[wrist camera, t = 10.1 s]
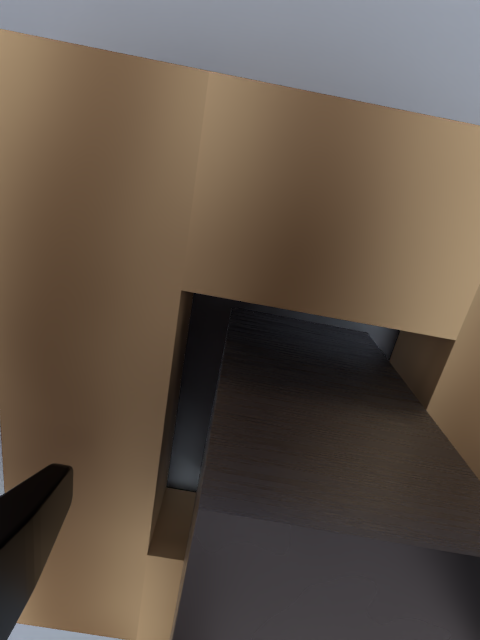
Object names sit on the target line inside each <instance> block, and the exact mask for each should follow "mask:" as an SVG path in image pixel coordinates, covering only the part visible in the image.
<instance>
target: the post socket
mask: <svg viewBox="0 0 480 640" xmlns="http://www.w3.org/2000/svg"><path fill="white" fill-rule="evenodd" d="M194 293H199V294H204V295H210V296H215V297H221V298H226V299H232V300H237V301H243V302H248V303H254V304H259V305H265V306H270V307H276V308H281V309H287V310H292V311H298V312H303V313H309V314H314V315H320V316H325V317H331V318H336V319H342V320H347V321H353V322H358V323H364V324H369V325H375V326H380V327H386V328H391V329H397V330H400V333H399V336H398V338H397V341H396V344H395V347H394V350H393V352H392V355H391V358H390V361H389V362H390V363H391V365H392V366H393V367H394V368H395V370H396V371H397V372H398V374H399V375H400V376H401V378H402V379H403V380H404V382H405V383H406V384H407V386H408V387H409V388H410V390H411V391H412V392H413V394H414V395H415V396H416V397H417V399H418V400H419V401H420V403H421V404H422V405H423V407H424V408H425V409H426V411H427V412H428V413H429V415H430V416H431V417H432V419H433V420H434V421H435V422H436V424H437V425H438V426H439V428H440V429H441V430H442V432H443V433H444V434H445V436H446V437H447V438H448V440H449V441H450V442H451V444H452V445H453V446H454V447H455V449H456V450H457V451H458V453H459V454H460V455H461V457H462V458H463V459H464V461H465V462H466V463H467V465H468V466H469V467H470V469H471V470H472V471H473V472H474V474H475V475H476V476H477V478H478V479H479V480H480V126H479V125H474V124H469V123H464V122H459V121H454V120H450V119H445V118H440V117H435V116H430V115H425V114H420V113H415V112H410V111H405V110H400V109H395V108H390V107H385V106H380V105H375V104H370V103H365V102H360V101H355V100H350V99H345V98H340V97H335V96H331V95H326V94H321V93H316V92H311V91H306V90H301V89H296V88H291V87H286V86H281V85H276V84H271V83H266V82H261V81H256V80H251V79H246V78H241V77H236V76H231V75H226V74H221V73H216V72H211V71H207V70H202V69H197V68H192V67H187V66H182V65H177V64H172V63H167V62H162V61H157V60H152V59H147V58H142V57H137V56H132V55H127V54H122V53H117V52H112V51H107V50H102V49H97V48H92V47H88V46H83V45H78V44H73V43H68V42H63V41H58V40H53V39H48V38H43V37H38V36H33V35H28V34H23V33H18V32H13V31H8V30H3V29H0V424H1V440H2V457H3V474H4V490H5V493H6V492H7V491H9V490H11V489H12V488H14V487H15V486H17V485H18V484H20V483H21V482H23V481H25V480H26V479H28V478H29V477H31V476H32V475H34V474H35V473H37V472H39V471H40V470H42V469H43V468H45V467H46V466H48V465H50V464H52V463H58V464H64V465H70V466H71V467H72V468H73V498H72V502H71V506H70V508H69V511H68V513H67V515H66V518H65V520H64V522H63V525H62V527H61V529H60V532H59V534H58V536H57V539H56V541H55V543H54V546H53V548H52V550H51V553H50V555H49V557H48V560H47V562H46V564H45V567H44V569H43V571H42V573H41V576H40V578H39V580H38V582H37V585H36V587H35V589H34V591H33V593H32V595H31V597H30V599H29V601H28V602H27V604H26V606H25V608H24V610H23V612H22V613H21V615H20V617H19V619H18V621H17V623H19V624H26V625H33V626H39V627H46V628H52V629H59V630H66V631H72V632H79V633H86V634H92V635H99V636H106V637H112V638H119V639H125V640H170V635H171V630H172V624H173V619H174V613H175V608H176V602H177V597H178V591H179V586H180V580H181V575H182V569H183V564H184V558H185V553H186V547H187V542H188V536H189V531H190V525H191V520H192V514H193V508H194V503H195V497H196V492H191V491H184V490H178V489H172V488H166V486H167V479H168V472H169V465H170V458H171V451H172V444H173V437H174V430H175V423H176V416H177V409H178V401H179V394H180V387H181V380H182V373H183V366H184V359H185V352H186V345H187V338H188V331H189V324H190V316H191V309H192V302H193V295H194Z"/></svg>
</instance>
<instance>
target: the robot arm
mask: <svg viewBox="0 0 480 640" xmlns="http://www.w3.org/2000/svg"><path fill="white" fill-rule="evenodd" d="M72 498H73V468H72V467H71V466H70V465H64V464H58V463H52V464H50V465H48V466H46V467H45V468H43V469H42V470H40V471H39V472H37V473H35V474H34V475H32V476H31V477H29V478H28V479H26V480H25V481H23V482H21V483H20V484H18V485H17V486H15V487H14V488H12V489H11V490H9V491H7V492H6V493H4V494H3V495H1V496H0V640H7V639H8V637H9V635H10V634H11V632H12V630H13V628H14V626H15V624H16V623H17V621H18V619H19V617H20V615H21V613H22V612H23V610H24V608H25V606H26V604H27V602H28V601H29V599H30V597H31V595H32V593H33V591H34V589H35V587H36V585H37V582H38V580H39V578H40V576H41V573H42V571H43V569H44V567H45V564H46V562H47V560H48V557H49V555H50V553H51V550H52V548H53V546H54V543H55V541H56V539H57V536H58V534H59V532H60V529H61V527H62V525H63V522H64V520H65V518H66V515H67V513H68V511H69V508H70V506H71V502H72Z"/></svg>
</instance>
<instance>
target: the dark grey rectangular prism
mask: <svg viewBox="0 0 480 640" xmlns="http://www.w3.org/2000/svg"><path fill="white" fill-rule="evenodd" d="M170 640H480V480H479V479H478V478H477V476H476V475H475V474H474V472H473V471H472V470H471V469H470V467H469V466H468V465H467V463H466V462H465V461H464V459H463V458H462V457H461V455H460V454H459V453H458V451H457V450H456V449H455V447H454V446H453V445H452V444H451V442H450V441H449V440H448V438H447V437H446V436H445V434H444V433H443V432H442V430H441V429H440V428H439V426H438V425H437V424H436V422H435V421H434V420H433V419H432V417H431V416H430V415H429V413H428V412H427V411H426V409H425V408H424V407H423V405H422V404H421V403H420V401H419V400H418V399H417V397H416V396H415V395H414V394H413V392H412V391H411V390H410V388H409V387H408V386H407V384H406V383H405V382H404V380H403V379H402V378H401V376H400V375H399V374H398V372H397V371H396V370H395V368H394V367H393V366H392V365H391V363H390V362H389V361H388V359H387V358H386V357H385V355H384V354H383V353H382V351H381V350H380V349H379V347H378V346H377V345H376V343H375V342H374V341H373V340H372V338H371V337H370V336H369V334H368V333H366V332H360V331H355V330H350V329H345V328H339V327H334V326H329V325H324V324H318V323H313V322H308V321H303V320H297V319H292V318H287V317H282V316H276V315H271V314H266V313H261V312H256V311H250V310H245V309H240V308H235V307H232V309H231V314H230V319H229V324H228V330H227V335H226V340H225V345H224V350H223V356H222V361H221V366H220V371H219V376H218V382H217V387H216V392H215V397H214V402H213V408H212V413H211V418H210V423H209V428H208V434H207V439H206V444H205V449H204V454H203V459H202V465H201V470H200V475H199V481H198V486H197V492H196V497H195V503H194V508H193V514H192V520H191V525H190V531H189V536H188V542H187V547H186V553H185V558H184V564H183V569H182V575H181V580H180V586H179V591H178V597H177V602H176V608H175V613H174V619H173V624H172V630H171V635H170Z"/></svg>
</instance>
